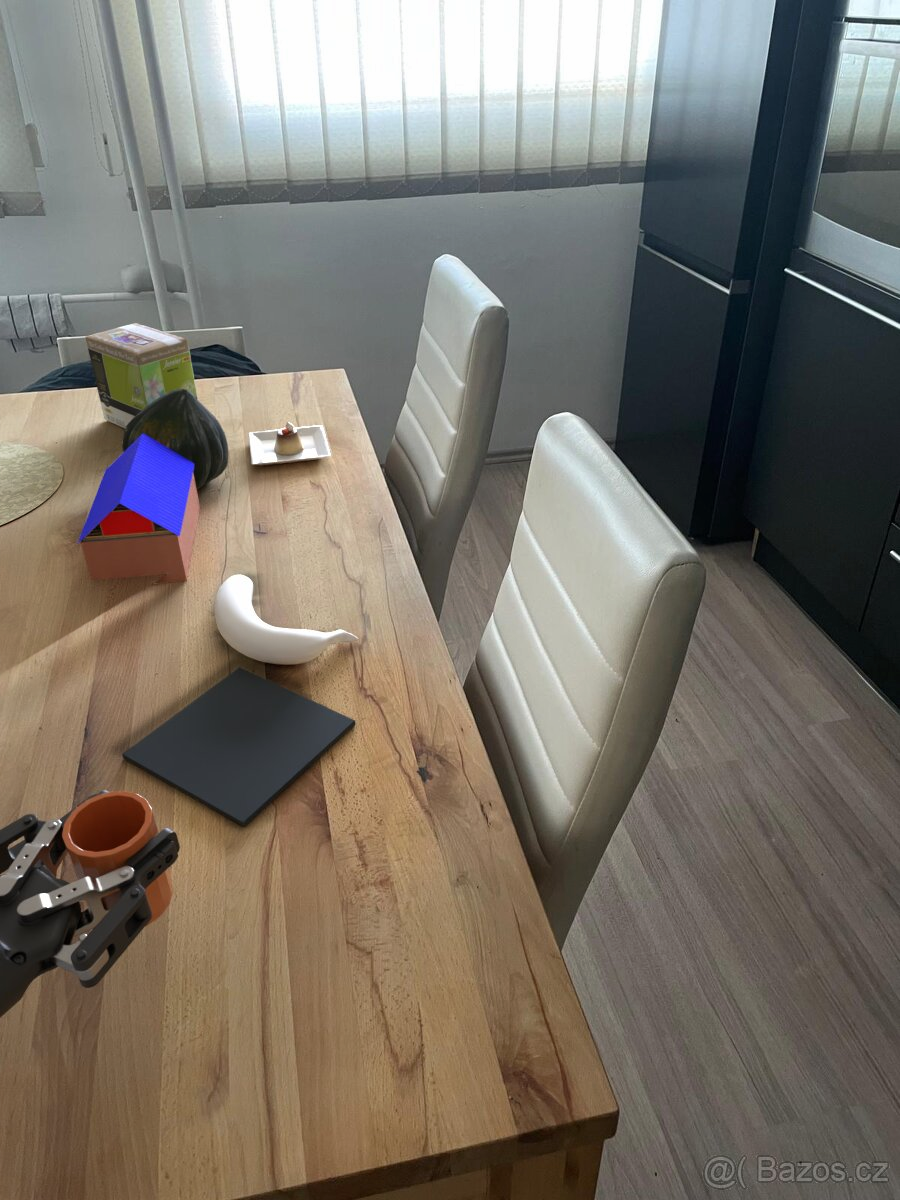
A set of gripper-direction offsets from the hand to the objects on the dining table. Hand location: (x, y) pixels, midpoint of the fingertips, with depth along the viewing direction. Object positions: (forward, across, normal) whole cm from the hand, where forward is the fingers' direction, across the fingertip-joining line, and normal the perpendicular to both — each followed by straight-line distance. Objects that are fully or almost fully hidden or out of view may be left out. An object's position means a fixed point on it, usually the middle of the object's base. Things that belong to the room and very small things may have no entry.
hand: (142, 819), depth 64 cm
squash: (+55, +59, +15) cm, 82 cm away
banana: (+36, +22, +14) cm, 45 cm away
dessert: (+72, +53, +15) cm, 91 cm away
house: (+40, +49, +15) cm, 65 cm away
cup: (-2, 0, +6) cm, 6 cm away
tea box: (+68, +80, +15) cm, 106 cm away
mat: (+19, +12, +14) cm, 27 cm away
